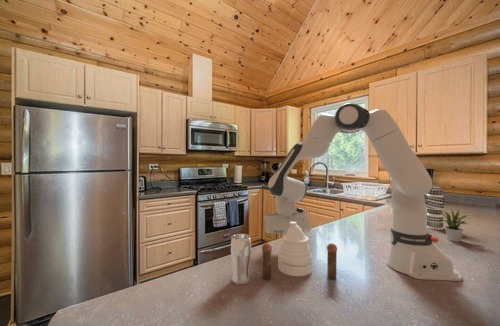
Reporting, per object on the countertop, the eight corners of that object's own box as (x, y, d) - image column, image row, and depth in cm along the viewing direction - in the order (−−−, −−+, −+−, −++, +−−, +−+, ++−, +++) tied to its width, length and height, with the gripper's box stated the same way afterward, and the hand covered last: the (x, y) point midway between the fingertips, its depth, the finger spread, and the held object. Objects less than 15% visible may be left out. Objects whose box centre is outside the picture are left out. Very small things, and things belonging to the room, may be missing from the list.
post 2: (336, 275, 85) (336, 242, 84) (337, 280, 81) (337, 245, 81) (326, 274, 85) (326, 241, 85) (326, 279, 82) (327, 244, 82)
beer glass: (248, 286, 77) (248, 240, 77) (228, 284, 79) (228, 239, 79) (252, 276, 84) (252, 234, 84) (233, 274, 86) (233, 233, 85)
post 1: (272, 276, 84) (272, 242, 84) (270, 280, 81) (270, 246, 81) (263, 274, 85) (263, 241, 85) (260, 279, 82) (260, 245, 82)
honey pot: (305, 279, 82) (305, 228, 82) (272, 270, 89) (272, 222, 88) (316, 265, 93) (316, 219, 92) (286, 258, 100) (286, 215, 99)
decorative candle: (425, 228, 143) (426, 187, 143) (424, 224, 151) (425, 185, 151) (444, 230, 138) (445, 188, 138) (443, 227, 146) (443, 186, 145)
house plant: (476, 248, 111) (476, 213, 111) (438, 242, 119) (438, 209, 119) (471, 240, 122) (472, 208, 122) (437, 234, 131) (438, 205, 131)
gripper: (264, 209, 109) (266, 238, 99) (308, 209, 109) (314, 237, 99) (263, 217, 113) (265, 244, 103) (306, 217, 113) (311, 244, 104)
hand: (289, 241), depth 101 cm, fingers closed
